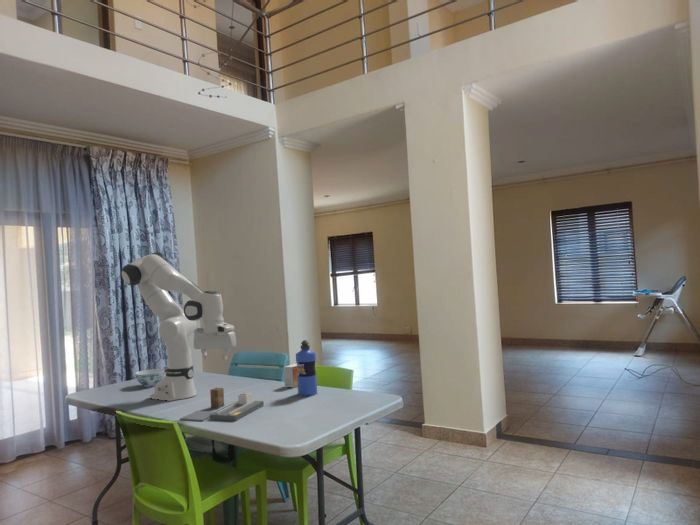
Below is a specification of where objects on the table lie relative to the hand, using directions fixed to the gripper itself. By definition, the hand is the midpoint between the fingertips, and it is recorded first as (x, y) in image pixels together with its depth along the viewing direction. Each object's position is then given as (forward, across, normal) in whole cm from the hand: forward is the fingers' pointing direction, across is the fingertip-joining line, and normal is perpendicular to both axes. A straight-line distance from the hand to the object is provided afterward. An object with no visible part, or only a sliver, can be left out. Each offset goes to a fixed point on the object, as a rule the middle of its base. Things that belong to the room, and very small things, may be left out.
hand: (215, 359), depth 216 cm
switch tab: (+19, +14, 0) cm, 24 cm away
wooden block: (+21, 0, 0) cm, 21 cm away
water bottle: (+21, +31, +27) cm, 46 cm away
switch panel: (+21, +14, -6) cm, 26 cm away
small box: (+22, +17, +41) cm, 49 cm away
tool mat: (+21, +1, -14) cm, 25 cm away
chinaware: (+21, -66, +33) cm, 77 cm away
